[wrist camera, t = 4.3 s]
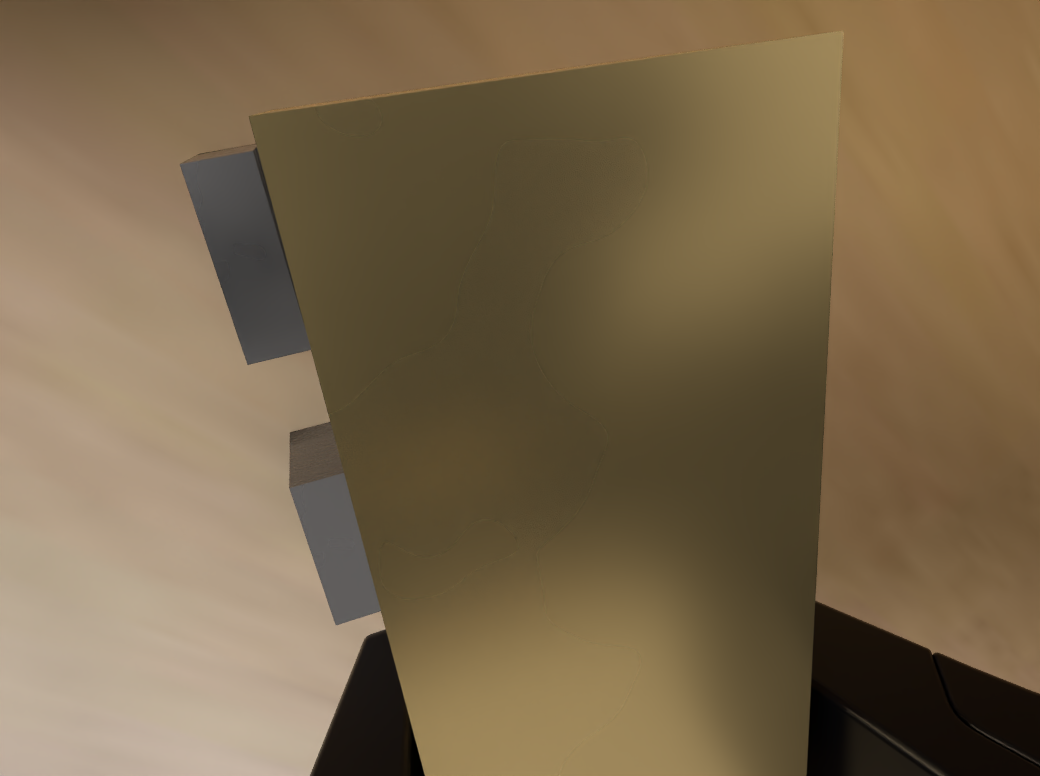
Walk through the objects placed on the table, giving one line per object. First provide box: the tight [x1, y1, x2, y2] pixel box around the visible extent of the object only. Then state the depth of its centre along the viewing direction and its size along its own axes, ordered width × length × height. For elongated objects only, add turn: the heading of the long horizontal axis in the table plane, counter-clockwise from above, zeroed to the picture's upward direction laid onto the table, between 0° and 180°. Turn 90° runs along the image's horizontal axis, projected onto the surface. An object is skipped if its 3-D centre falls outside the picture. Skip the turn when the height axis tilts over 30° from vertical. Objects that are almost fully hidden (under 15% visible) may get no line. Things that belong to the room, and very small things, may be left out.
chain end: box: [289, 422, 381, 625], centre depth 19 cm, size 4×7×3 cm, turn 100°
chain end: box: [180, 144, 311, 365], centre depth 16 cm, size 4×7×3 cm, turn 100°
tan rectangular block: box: [249, 31, 844, 776], centre depth 8 cm, size 12×3×4 cm, turn 9°
